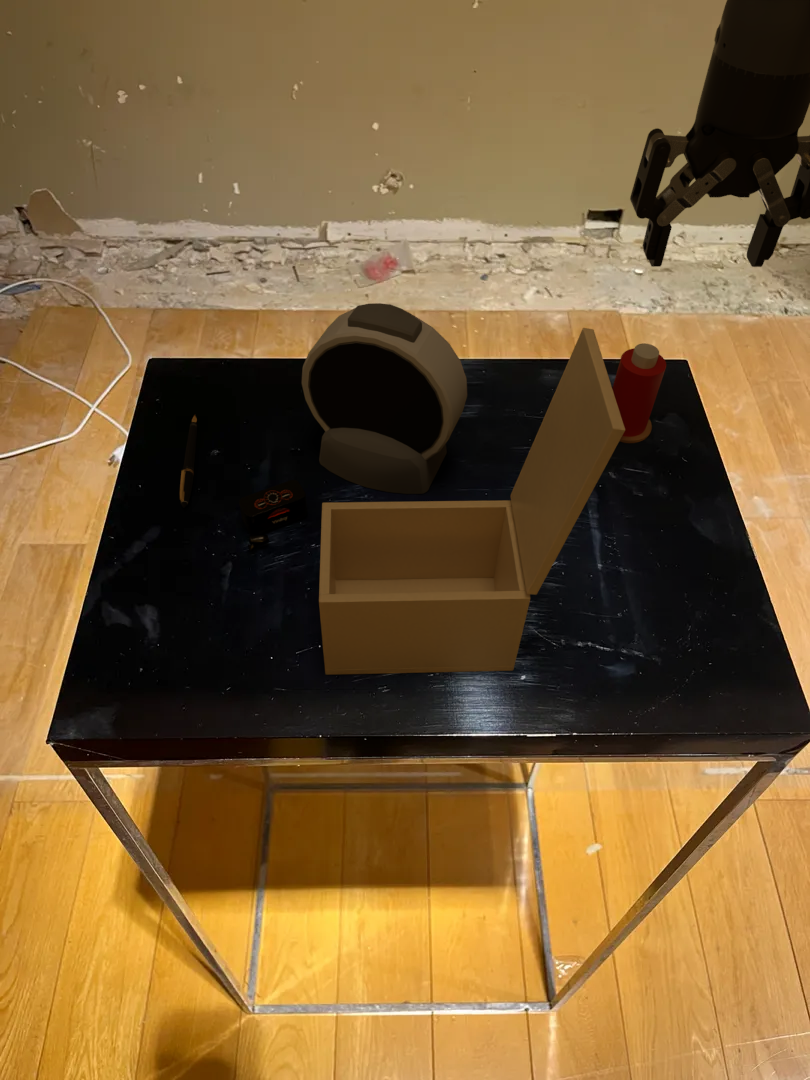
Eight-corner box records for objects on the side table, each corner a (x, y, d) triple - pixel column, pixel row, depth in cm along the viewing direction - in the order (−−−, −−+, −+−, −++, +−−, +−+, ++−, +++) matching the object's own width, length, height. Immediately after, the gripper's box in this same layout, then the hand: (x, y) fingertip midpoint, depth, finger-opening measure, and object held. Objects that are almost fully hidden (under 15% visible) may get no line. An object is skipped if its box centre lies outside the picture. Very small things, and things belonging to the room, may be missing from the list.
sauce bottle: (647, 413, 95) (671, 341, 88) (644, 440, 92) (668, 368, 85) (606, 405, 96) (626, 333, 89) (601, 432, 93) (621, 359, 86)
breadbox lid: (613, 428, 51) (626, 429, 52) (582, 327, 58) (593, 328, 58) (526, 594, 64) (536, 595, 65) (509, 495, 71) (519, 496, 71)
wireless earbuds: (233, 523, 83) (229, 502, 81) (298, 500, 86) (296, 478, 83) (250, 555, 81) (247, 533, 78) (317, 530, 83) (315, 508, 81)
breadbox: (325, 674, 72) (318, 602, 64) (327, 579, 79) (322, 502, 71) (513, 670, 73) (530, 598, 65) (499, 576, 80) (513, 499, 72)
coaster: (652, 413, 96) (653, 411, 96) (648, 447, 92) (649, 445, 92) (601, 403, 97) (602, 401, 97) (595, 437, 93) (595, 434, 93)
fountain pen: (190, 418, 93) (188, 408, 92) (201, 418, 93) (199, 408, 92) (178, 512, 84) (176, 502, 83) (190, 512, 84) (188, 502, 83)
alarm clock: (296, 466, 89) (281, 323, 75) (334, 409, 95) (327, 266, 81) (437, 508, 85) (449, 365, 72) (468, 445, 92) (484, 303, 78)
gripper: (681, 69, 55) (629, 286, 67) (892, 70, 55) (802, 286, 67) (656, 30, 60) (611, 239, 72) (850, 32, 60) (772, 239, 72)
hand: (703, 262), depth 70 cm, fingers open, 8 cm apart
